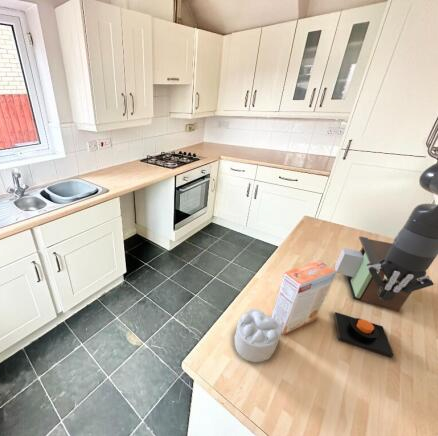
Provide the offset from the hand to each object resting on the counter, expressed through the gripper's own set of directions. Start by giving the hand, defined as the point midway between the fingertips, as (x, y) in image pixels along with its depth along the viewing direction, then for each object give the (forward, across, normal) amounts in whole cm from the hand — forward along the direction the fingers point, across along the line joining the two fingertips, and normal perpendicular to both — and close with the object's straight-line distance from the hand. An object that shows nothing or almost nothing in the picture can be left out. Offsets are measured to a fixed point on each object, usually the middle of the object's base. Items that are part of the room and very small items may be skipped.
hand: (383, 298), depth 66 cm
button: (+12, -1, -1) cm, 12 cm away
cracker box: (+15, -19, -4) cm, 25 cm away
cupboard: (+15, +6, +24) cm, 29 cm away
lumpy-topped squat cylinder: (+15, -29, -18) cm, 37 cm away
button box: (+15, -1, -1) cm, 15 cm away
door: (+14, -1, +21) cm, 25 cm away
